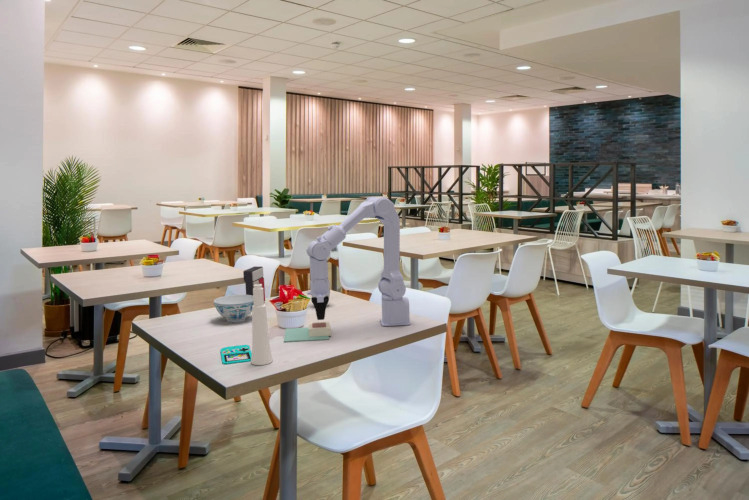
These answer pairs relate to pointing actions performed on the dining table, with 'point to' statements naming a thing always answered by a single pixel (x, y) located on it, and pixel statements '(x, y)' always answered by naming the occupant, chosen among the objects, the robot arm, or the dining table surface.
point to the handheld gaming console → (236, 354)
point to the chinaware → (234, 307)
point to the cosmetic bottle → (260, 329)
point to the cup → (328, 288)
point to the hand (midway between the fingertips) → (320, 319)
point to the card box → (319, 329)
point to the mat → (301, 335)
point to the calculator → (253, 279)
